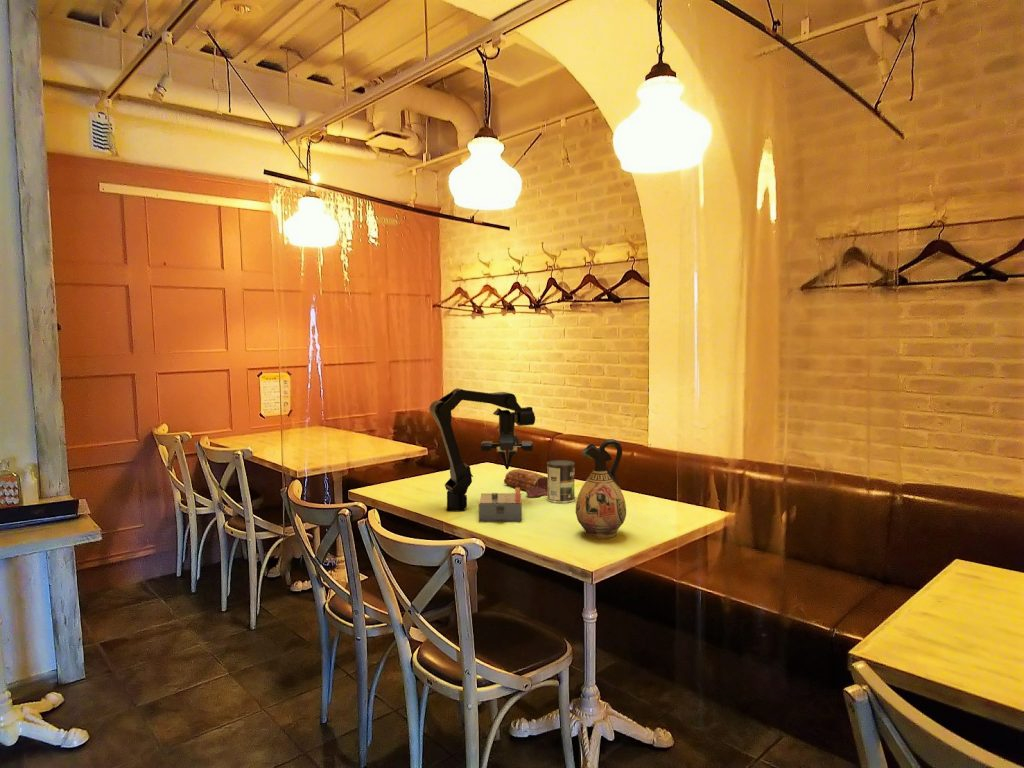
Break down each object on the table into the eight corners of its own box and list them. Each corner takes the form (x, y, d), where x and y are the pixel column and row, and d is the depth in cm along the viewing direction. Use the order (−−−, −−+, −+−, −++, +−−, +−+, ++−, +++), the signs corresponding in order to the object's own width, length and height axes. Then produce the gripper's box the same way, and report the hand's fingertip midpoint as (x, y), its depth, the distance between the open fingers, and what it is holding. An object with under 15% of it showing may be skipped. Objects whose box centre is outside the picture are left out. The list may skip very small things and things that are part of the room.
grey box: (478, 524, 209) (478, 506, 208) (481, 508, 228) (481, 491, 227) (521, 523, 209) (521, 505, 208) (521, 508, 228) (521, 491, 227)
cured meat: (532, 500, 240) (533, 482, 239) (494, 487, 260) (495, 470, 259) (569, 493, 250) (569, 476, 250) (530, 482, 270) (530, 466, 270)
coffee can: (576, 496, 243) (576, 460, 242) (573, 504, 233) (573, 465, 232) (549, 495, 245) (549, 459, 244) (545, 502, 235) (545, 464, 234)
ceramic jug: (576, 542, 190) (577, 442, 188) (574, 527, 205) (574, 434, 203) (634, 543, 189) (635, 442, 187) (627, 527, 204) (628, 434, 202)
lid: (479, 505, 212) (479, 495, 212) (481, 496, 224) (481, 486, 223) (521, 505, 212) (521, 495, 212) (520, 496, 224) (520, 486, 223)
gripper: (480, 430, 225) (480, 474, 226) (533, 430, 225) (533, 473, 226) (481, 425, 236) (482, 467, 237) (532, 425, 236) (532, 467, 237)
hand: (507, 469), depth 234 cm, fingers closed
